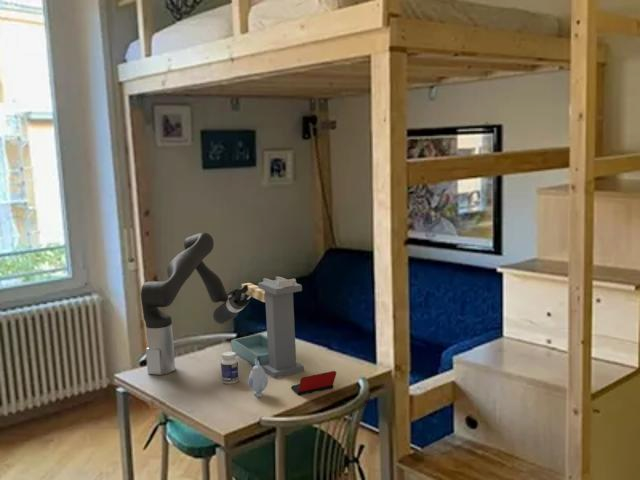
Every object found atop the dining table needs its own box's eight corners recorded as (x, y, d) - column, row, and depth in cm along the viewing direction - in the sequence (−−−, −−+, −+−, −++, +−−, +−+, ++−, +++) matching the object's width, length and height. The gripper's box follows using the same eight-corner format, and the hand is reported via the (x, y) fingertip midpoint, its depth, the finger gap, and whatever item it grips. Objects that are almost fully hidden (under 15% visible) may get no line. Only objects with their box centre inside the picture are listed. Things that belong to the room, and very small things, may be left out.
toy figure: (244, 392, 210) (242, 356, 209) (262, 388, 213) (260, 353, 211) (255, 402, 201) (253, 366, 199) (273, 398, 203) (272, 362, 202)
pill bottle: (235, 384, 217) (233, 356, 216) (219, 383, 219) (217, 355, 217) (240, 378, 223) (239, 350, 222) (225, 377, 224) (223, 350, 223)
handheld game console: (324, 382, 217) (323, 361, 216) (338, 392, 207) (337, 370, 206) (290, 388, 212) (288, 367, 211) (302, 400, 202) (301, 377, 201)
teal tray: (231, 352, 253) (231, 339, 252) (261, 345, 259) (261, 333, 258) (258, 369, 231) (257, 356, 230) (290, 362, 238) (289, 349, 237)
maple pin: (242, 292, 249) (241, 284, 249) (250, 291, 251) (249, 282, 251) (264, 302, 232) (263, 293, 232) (272, 300, 234) (272, 291, 233)
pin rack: (260, 369, 231) (255, 276, 226) (289, 362, 237) (285, 271, 232) (277, 381, 219) (272, 282, 214) (308, 373, 225) (304, 277, 220)
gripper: (219, 294, 257) (232, 279, 243) (251, 289, 264) (265, 274, 250) (223, 312, 254) (237, 298, 240) (255, 306, 261) (270, 292, 247)
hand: (251, 286), depth 245 cm, fingers closed on maple pin, 3 cm apart
